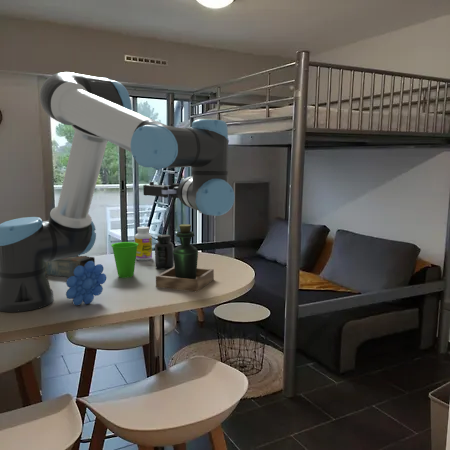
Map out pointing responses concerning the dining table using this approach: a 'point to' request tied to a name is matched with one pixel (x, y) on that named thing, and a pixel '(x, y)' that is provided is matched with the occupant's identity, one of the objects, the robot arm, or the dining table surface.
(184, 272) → the potion bottle
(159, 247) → the supplement bottle
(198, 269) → the walnut tray
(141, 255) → the supplement bottle
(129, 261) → the cup
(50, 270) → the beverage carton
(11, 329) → the dining table surface
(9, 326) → the dining table surface
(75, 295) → the grapes
